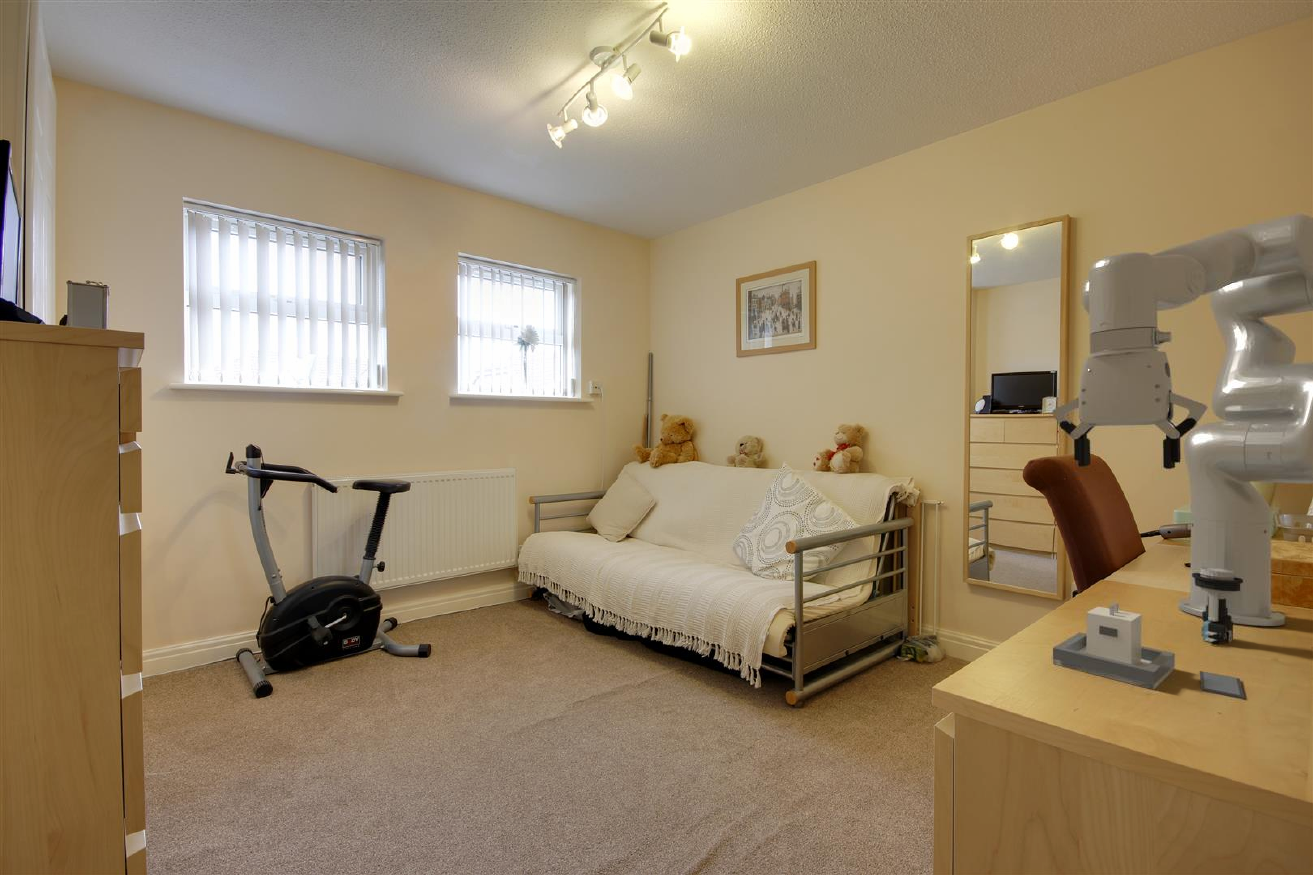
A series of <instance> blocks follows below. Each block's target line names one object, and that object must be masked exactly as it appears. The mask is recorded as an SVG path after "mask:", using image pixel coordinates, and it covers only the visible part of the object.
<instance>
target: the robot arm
mask: <svg viewBox="0 0 1313 875" xmlns="http://www.w3.org/2000/svg"><path fill="white" fill-rule="evenodd" d="M1208 294H1209V303H1210V308H1211V311H1212V314H1213V317H1214V319H1215V323H1216V324H1217V327H1218V329H1219V330H1218V331H1220V334H1221V336H1222V338H1223V341H1224V344H1225V352H1224V357H1223V359H1222V362H1221V363H1222V364H1221V366H1220V368H1219V369H1220V370H1219V373H1218V377H1217V378H1216V382H1215V386H1214V389H1213V393H1212V398H1211V409H1212V412H1213V414H1214V415H1215V416H1216V417H1217V418H1219V419H1220V420H1222V421H1215V422H1210V423H1205V424H1201V425H1199V426H1198V423H1199V421H1200V420H1202V418H1203V416H1204V415H1205V413H1206V411H1208V407H1209V406H1208V405H1207V404H1206V403H1203V402H1200V401H1197V400H1195V399H1191V398H1188V397H1185V396H1184V395H1180V394H1177V393H1174V391H1173V390H1174V389H1173V382H1172V374H1171V368H1170V364H1169V363H1170V362H1169V359H1168V355H1167V353H1166V351H1162V350H1160V351H1159V348H1160V346H1161V345H1162V344H1165V343H1169V342H1170V343H1171V342H1172V339H1173V338H1172V332H1171V331H1166V332H1165V331H1161V330H1160V329H1159V328H1158V312H1161V311H1168V310H1174V309H1178V308H1182V307H1186V306H1188V305H1191V304H1192V303H1193V302H1195V301H1196V300H1198V299H1199V298H1200V297H1201V296H1205V295H1206V296H1207V295H1208ZM1081 304H1082V306H1083V308H1084V310H1085V311H1086V312H1087V314H1088V315H1089V319H1088V320H1089V355H1090V356H1087V357H1085V358H1084V361H1083V365H1082V371H1081V376H1080V383H1079V391H1078V392H1079V393H1078V397H1077V398H1075V399H1072V400H1071V401H1069V402H1066V403H1065V404H1062V405H1061V406H1058V407H1056V408H1054V409H1053V410H1052V415H1053V418H1054V419H1055V420H1056V422H1057V423H1058V424H1059V428H1061V429H1062V430H1063V432H1065V433H1066V434H1068V436H1070V438H1071V439H1073V456H1074V458H1073V459H1074V461H1075V462H1076V461H1077V462H1078V463H1077V466H1078V467H1083V468H1084V467H1087V466H1089V465H1091V440H1090V438H1088V434H1089V433H1090V432H1091V431H1092V430H1093V429H1094V428H1095V427H1104V426H1105V427H1107V426H1108V427H1109V426H1115V427H1116V426H1117V427H1118V426H1149V425H1153V426H1154V425H1155V426H1156V427H1157V428H1158V429H1159V430H1161V431H1162V433H1163V434H1165V438H1164V439H1162V440H1163V441H1162V452H1163V454H1162V456H1163V457H1162V461H1163V462H1162V463H1163V466H1162V467H1163V469H1166V470H1171V469H1175V468H1176V463H1181V458H1182V457H1181V438H1183V437H1184V436H1185V435H1186V434H1187V435H1186V437H1185V439H1184V441H1183V454H1184V460H1185V464H1186V469H1187V473H1188V477H1189V478H1188V479H1189V484H1190V485H1189V486H1190V509H1191V510H1190V583H1189V584H1190V590H1189V591H1190V596H1189V598H1188V597H1187V598H1181V599H1179V600H1178V601H1177V606H1178V608H1179V610H1181V611H1182V612H1185V613H1188V614H1190V615H1193V616H1197V617H1201V618H1202V612H1203V611H1206V606H1207V605H1208V596H1209V593H1208V592H1207V591H1205V590H1202V589H1201V587H1198V586H1196V585H1195V578H1194V577H1192V573H1199V572H1201V567H1212V568H1221V569H1227V570H1231V571H1234V576H1236V577H1237V578H1241V579H1243V583H1240V591H1234V593H1231V594H1225V599H1226V607H1227V608H1228V615H1230V616H1231V621H1233V624H1237V625H1238V624H1239V625H1244V626H1258V627H1259V626H1260V627H1278V626H1283V625H1284V624H1285V621H1286V617H1285V616H1284V615H1283V614H1282V613H1280V612H1278V611H1275V610H1272V609H1271V607H1272V606H1271V601H1272V599H1271V598H1272V595H1271V594H1272V593H1271V592H1272V582H1271V581H1272V523H1273V522H1272V520H1273V519H1272V518H1273V517H1272V510H1271V507H1270V505H1269V503H1268V502H1267V500H1266V498H1264V497H1263V495H1262V494H1261V493H1260V492H1259V491H1258V490H1257V489H1256V488H1255V486H1254V485H1252V483H1251V482H1254V483H1255V482H1257V483H1259V482H1264V483H1266V482H1267V483H1284V484H1313V361H1310V362H1297V363H1296V362H1295V363H1294V360H1295V356H1296V352H1297V351H1296V349H1297V348H1296V345H1295V343H1294V341H1293V340H1292V338H1290V337H1289V336H1288V335H1287V334H1286V333H1285V332H1283V331H1282V330H1280V329H1279V328H1278V327H1275V326H1274V325H1272V324H1270V323H1268V322H1267V321H1266V320H1265V319H1264V318H1268V317H1276V316H1284V315H1291V314H1299V313H1306V312H1313V217H1312V216H1310V215H1307V214H1291V215H1286V216H1282V217H1278V218H1275V219H1274V218H1273V219H1270V220H1266V221H1261V222H1257V223H1253V224H1248V225H1244V226H1240V227H1236V228H1231V229H1227V230H1224V231H1220V232H1218V233H1215V234H1212V235H1208V236H1206V237H1203V238H1199V239H1197V240H1193V241H1190V242H1187V243H1183V244H1180V245H1176V246H1173V247H1170V248H1167V249H1163V250H1161V251H1158V252H1156V253H1152V254H1150V253H1148V252H1126V253H1125V252H1124V253H1119V254H1114V255H1110V256H1106V257H1103V258H1100V259H1098V260H1096V261H1094V262H1093V263H1092V265H1091V266H1090V267H1089V270H1088V278H1087V279H1086V281H1085V282H1084V284H1083V286H1082V289H1081ZM1174 405H1176V406H1179V407H1181V408H1184V409H1187V410H1188V414H1187V416H1186V418H1185V419H1184V420H1182V421H1181V422H1180V423H1179V424H1178V425H1177V424H1175V423H1174V422H1173V421H1172V420H1173V419H1174V415H1175V407H1174ZM1077 409H1078V418H1079V421H1080V423H1079V424H1078V425H1076V424H1074V423H1073V422H1071V421H1070V419H1069V417H1068V414H1069V413H1072V412H1073V411H1075V410H1077ZM1196 426H1197V427H1196Z"/></svg>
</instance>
